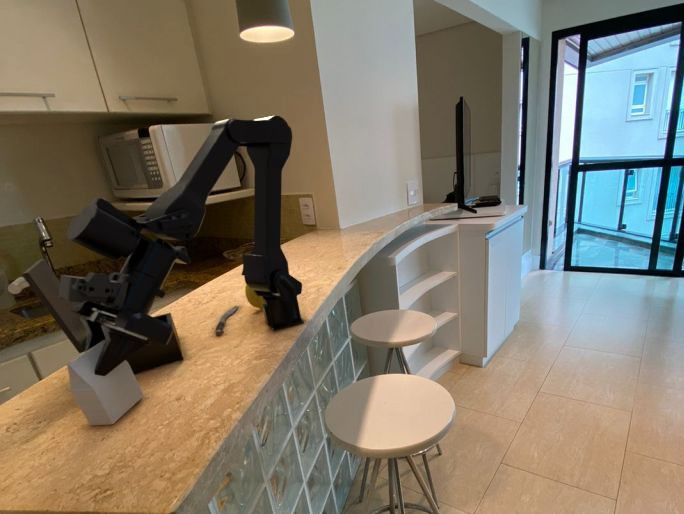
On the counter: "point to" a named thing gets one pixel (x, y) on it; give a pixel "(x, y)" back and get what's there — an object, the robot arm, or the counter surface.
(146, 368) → the black open box
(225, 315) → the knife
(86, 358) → the grey angular block
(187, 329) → the counter surface
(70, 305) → the box lid
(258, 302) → the lemon
